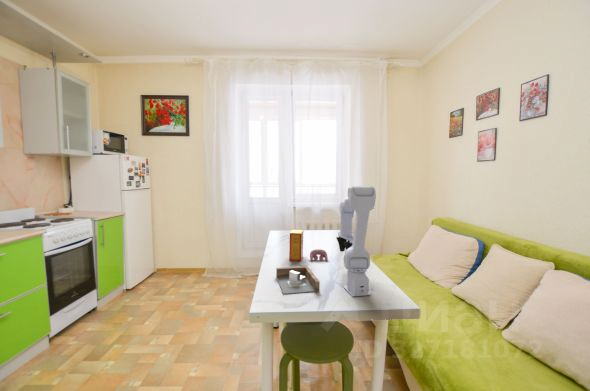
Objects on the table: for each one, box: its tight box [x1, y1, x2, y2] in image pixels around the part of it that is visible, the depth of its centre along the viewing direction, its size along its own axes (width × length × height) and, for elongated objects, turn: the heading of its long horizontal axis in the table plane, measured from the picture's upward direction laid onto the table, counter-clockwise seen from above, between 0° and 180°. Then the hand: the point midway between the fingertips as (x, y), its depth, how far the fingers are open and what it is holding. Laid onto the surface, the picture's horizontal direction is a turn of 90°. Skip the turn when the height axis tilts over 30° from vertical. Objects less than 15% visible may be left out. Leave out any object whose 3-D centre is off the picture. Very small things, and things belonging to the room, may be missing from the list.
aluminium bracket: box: [289, 270, 306, 285], centre depth 115 cm, size 6×4×5 cm
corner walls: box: [275, 265, 320, 293], centre depth 113 cm, size 18×15×4 cm
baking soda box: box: [288, 229, 304, 262], centre depth 148 cm, size 10×6×16 cm
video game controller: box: [309, 249, 329, 262], centre depth 146 cm, size 10×5×7 cm, turn 93°
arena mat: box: [276, 276, 316, 295], centre depth 114 cm, size 18×15×1 cm
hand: (345, 253), depth 128 cm, fingers open, 7 cm apart
